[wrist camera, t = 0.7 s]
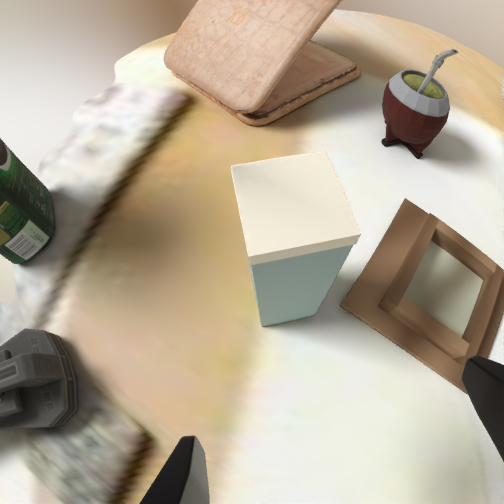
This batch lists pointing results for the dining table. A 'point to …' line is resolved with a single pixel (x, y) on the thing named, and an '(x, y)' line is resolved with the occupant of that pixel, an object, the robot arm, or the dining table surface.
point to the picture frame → (430, 293)
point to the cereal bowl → (502, 87)
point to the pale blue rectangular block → (293, 231)
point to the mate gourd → (415, 107)
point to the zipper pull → (36, 381)
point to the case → (258, 56)
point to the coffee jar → (22, 210)
